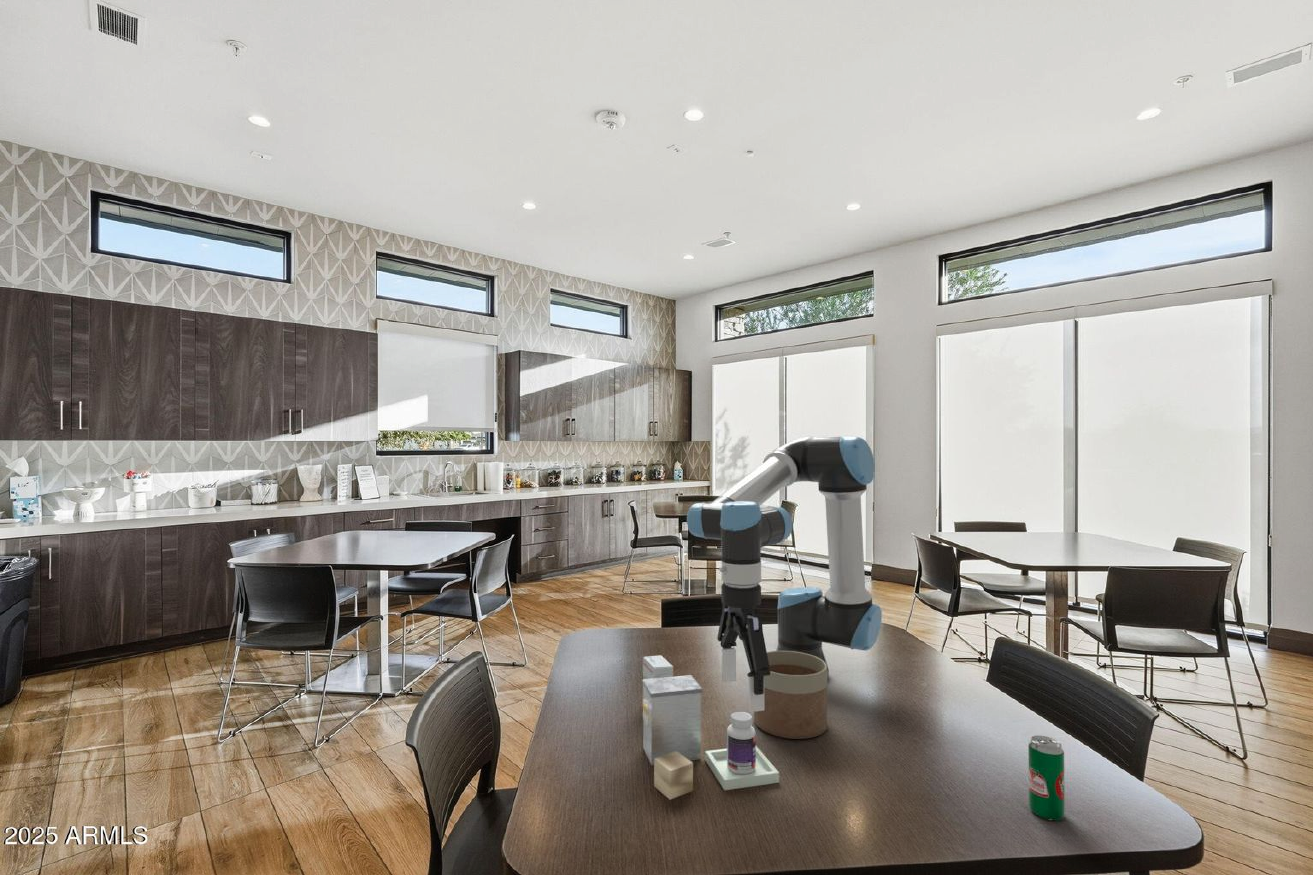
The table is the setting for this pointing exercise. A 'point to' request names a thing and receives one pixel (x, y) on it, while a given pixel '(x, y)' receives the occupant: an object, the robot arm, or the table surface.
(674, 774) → the maple block
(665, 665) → the ink box
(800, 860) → the table surface
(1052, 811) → the soda can
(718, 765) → the tray
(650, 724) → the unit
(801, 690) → the planter
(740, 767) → the pill bottle
